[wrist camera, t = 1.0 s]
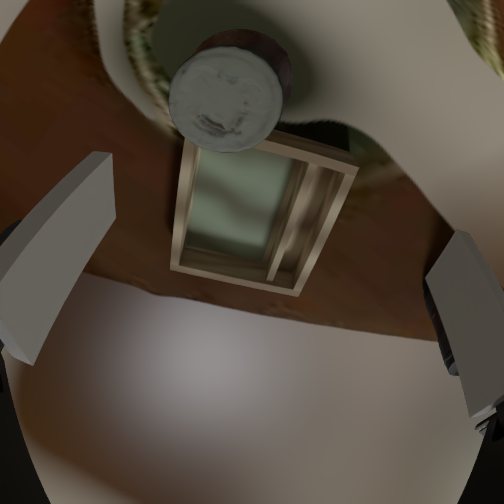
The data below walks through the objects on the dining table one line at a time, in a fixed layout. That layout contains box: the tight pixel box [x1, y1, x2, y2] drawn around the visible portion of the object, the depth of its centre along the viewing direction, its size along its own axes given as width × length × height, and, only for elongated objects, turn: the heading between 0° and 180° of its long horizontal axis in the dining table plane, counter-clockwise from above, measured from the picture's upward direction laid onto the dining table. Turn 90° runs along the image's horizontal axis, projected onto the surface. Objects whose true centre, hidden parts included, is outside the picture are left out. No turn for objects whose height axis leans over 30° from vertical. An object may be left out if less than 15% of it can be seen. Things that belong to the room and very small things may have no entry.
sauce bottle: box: [168, 29, 293, 153], centre depth 17 cm, size 7×6×20 cm
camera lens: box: [423, 275, 459, 376], centre depth 35 cm, size 8×8×15 cm
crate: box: [170, 129, 359, 297], centre depth 33 cm, size 18×16×4 cm
